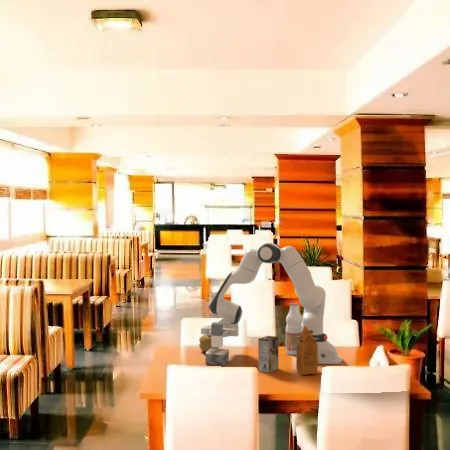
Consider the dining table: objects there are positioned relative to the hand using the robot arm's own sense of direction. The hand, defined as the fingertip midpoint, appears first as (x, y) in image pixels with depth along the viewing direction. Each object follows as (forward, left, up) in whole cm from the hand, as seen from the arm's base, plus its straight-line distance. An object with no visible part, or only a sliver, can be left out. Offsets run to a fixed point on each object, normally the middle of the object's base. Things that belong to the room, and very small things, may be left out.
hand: (216, 334), depth 292 cm
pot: (+10, -23, -15) cm, 29 cm away
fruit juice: (-37, -30, -15) cm, 50 cm away
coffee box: (-28, +6, -15) cm, 33 cm away
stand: (0, -1, -15) cm, 15 cm away
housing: (0, -1, -6) cm, 7 cm away
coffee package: (-47, +6, -15) cm, 50 cm away
